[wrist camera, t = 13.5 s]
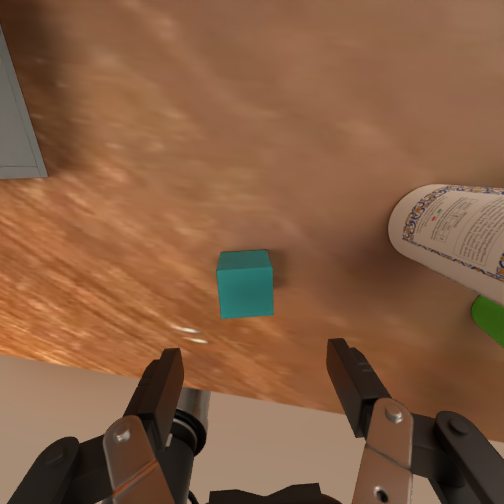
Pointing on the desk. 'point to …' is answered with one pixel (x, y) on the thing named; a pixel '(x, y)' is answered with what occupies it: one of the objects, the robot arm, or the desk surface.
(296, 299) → the desk surface
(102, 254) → the desk surface
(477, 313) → the cup
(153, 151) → the desk surface
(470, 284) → the bath foam
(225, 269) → the cube
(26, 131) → the small storage cabinet
